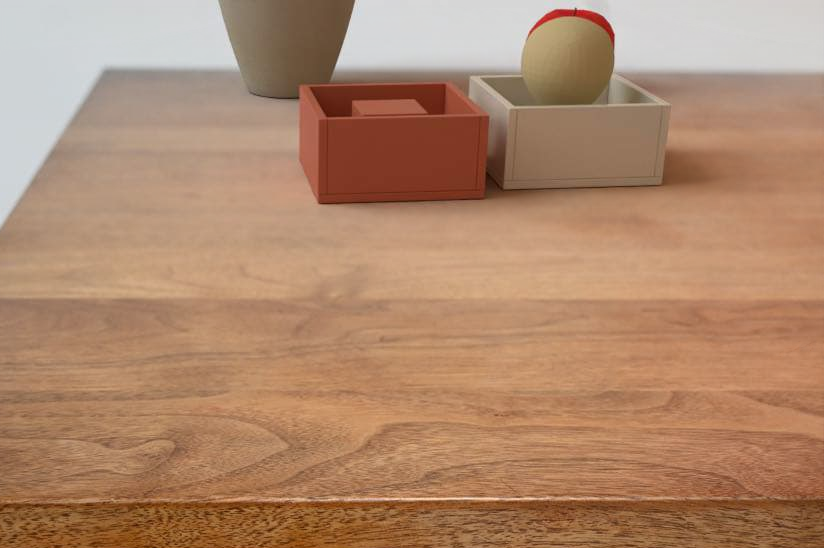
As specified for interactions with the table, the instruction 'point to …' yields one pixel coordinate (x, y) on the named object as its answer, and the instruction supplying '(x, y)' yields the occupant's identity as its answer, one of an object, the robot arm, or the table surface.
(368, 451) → the table surface
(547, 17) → the apple
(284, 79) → the plant pot
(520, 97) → the cream bin
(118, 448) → the table surface
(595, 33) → the light bulb
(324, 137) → the terracotta bin
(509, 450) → the table surface
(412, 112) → the terracotta block
